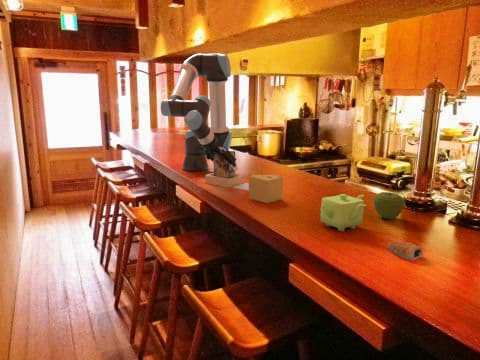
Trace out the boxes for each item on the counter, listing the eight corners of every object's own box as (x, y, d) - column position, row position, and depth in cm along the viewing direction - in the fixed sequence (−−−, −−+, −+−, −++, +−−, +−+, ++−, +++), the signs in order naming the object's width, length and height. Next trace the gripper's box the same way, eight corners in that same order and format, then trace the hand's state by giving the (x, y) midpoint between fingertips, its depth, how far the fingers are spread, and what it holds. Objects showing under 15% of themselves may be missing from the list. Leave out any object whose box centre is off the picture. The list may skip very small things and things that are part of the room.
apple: (365, 215, 142) (368, 190, 140) (385, 212, 147) (387, 187, 145) (389, 224, 133) (392, 197, 131) (409, 220, 138) (412, 193, 136)
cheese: (264, 195, 169) (265, 172, 167) (283, 200, 162) (284, 176, 159) (248, 198, 162) (248, 175, 160) (267, 204, 154) (268, 180, 152)
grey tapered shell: (381, 250, 111) (382, 238, 110) (396, 246, 114) (397, 234, 113) (410, 262, 103) (412, 249, 102) (425, 258, 106) (427, 245, 106)
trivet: (246, 184, 189) (246, 182, 188) (265, 187, 182) (265, 186, 182) (233, 187, 180) (233, 186, 180) (252, 191, 174) (252, 190, 173)
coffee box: (235, 183, 190) (236, 151, 187) (229, 185, 185) (229, 152, 181) (219, 180, 194) (220, 149, 191) (212, 183, 189) (213, 150, 185)
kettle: (361, 221, 136) (364, 191, 133) (366, 235, 122) (370, 201, 120) (318, 218, 138) (320, 188, 136) (319, 231, 125) (321, 198, 122)
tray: (220, 179, 198) (220, 171, 197) (243, 183, 190) (243, 175, 189) (205, 182, 189) (205, 174, 188) (228, 187, 181) (228, 179, 180)
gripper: (185, 143, 179) (207, 171, 195) (222, 148, 167) (243, 177, 182) (193, 131, 182) (214, 160, 198) (230, 135, 170) (249, 165, 185)
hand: (228, 168), depth 190 cm, fingers closed on coffee box, 10 cm apart
